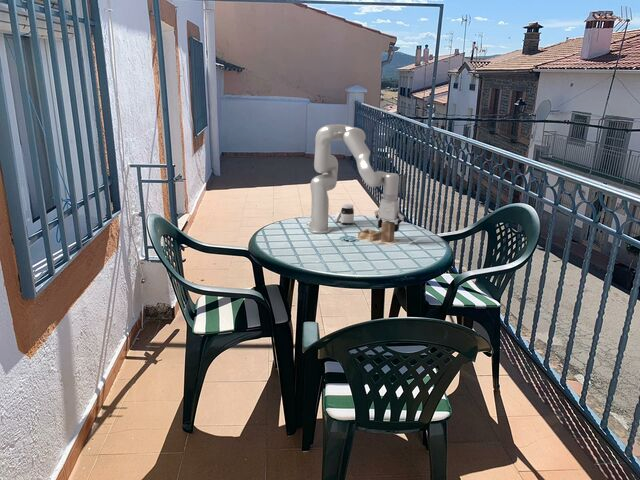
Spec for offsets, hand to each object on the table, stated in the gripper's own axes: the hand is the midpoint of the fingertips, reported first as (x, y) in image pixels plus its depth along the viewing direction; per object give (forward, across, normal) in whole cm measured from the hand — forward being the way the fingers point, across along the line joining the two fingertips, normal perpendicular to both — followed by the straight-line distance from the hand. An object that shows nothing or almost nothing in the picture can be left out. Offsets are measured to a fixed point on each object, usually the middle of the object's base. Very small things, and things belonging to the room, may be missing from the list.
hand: (388, 229), depth 264 cm
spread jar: (+8, -41, +19) cm, 46 cm away
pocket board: (+7, -5, 0) cm, 9 cm away
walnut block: (+6, 0, 0) cm, 6 cm away
